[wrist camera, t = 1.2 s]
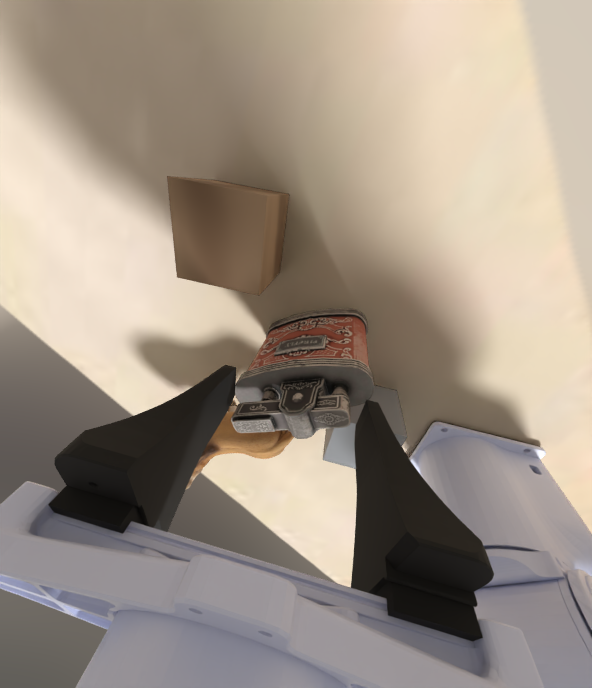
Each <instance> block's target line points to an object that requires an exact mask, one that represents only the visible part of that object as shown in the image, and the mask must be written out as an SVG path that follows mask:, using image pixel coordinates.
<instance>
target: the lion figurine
mask: <svg viewBox="0 0 592 688" xmlns="http://www.w3.org/2000/svg"><path fill="white" fill-rule="evenodd" d="M236 408H237V406H230V407H229V409H228V412H227V413H226V415H225V416H224V418H223V420H222V421H221V423H220V425H219V426H218V428H217V430H216V431H215V433H214V434H213V436H212V438H211V439H210V441H209V443H208V444H207V446H206V448H205V450H204V451H203V453H202V455H201V457H200V459H199V461H198V464H197V466H196V468H195V470H194V472H193V474H192V476H191V478H190V481H189V483H188V485H187V487H186V489H188V488H189V487H190V486H191V483H192V481H193V480H194V479H195V477H196V476H197V475H198V474H199V473H200V472H201V471H202V469H203V467H204V466H205V465H206V464H207V463H208V462H209V461H210V459H211V458H213V457H214V456H216V455H220V454H227V453H243V454H246V455H249V456H252V457H255V458H260V459H267V458H271V457H274V456H277V455H279V454H280V453H281V452H282V451H283V450H284V448H285V447H286V446H287V445H288V444H289V443H290V442H291V440H292V439H293V438H294V437H293V436H292V434H291V432H290V431H288V430H276V431H275V432H253V433H239V432H237V431H236V430H235V428H234V427H233V424H232V422H231V417H232V416H233V414H234V412H235V410H236Z"/></svg>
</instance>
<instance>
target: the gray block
mask: <svg viewBox="0 0 592 688" xmlns="http://www.w3.org/2000/svg"><path fill="white" fill-rule="evenodd" d="M369 400H370V401H374V402H378V403H379V405H380V407H381V409H382V411H383V413H384V415H385V417H386V419H387V421H388V423H389V425H390V427H391V429H392V431H393V433H394V434H395V436H396V438H397V440H398V442H399V443H400V445H401V446H402V445H403V443H404V441H405V440H406V438H407V433H406V429H405V424H404V420H403V416H402V411H401V407H400V402H399V398H398V394H397V391H396V390H392V389H388V388H384V387H380V386H375V385H374V393H373V395H372V397H371V398H370V399H369ZM364 404H365V403H364ZM364 404H361V405H358V406H353V407H350V425H349V426H347V427H343V428H326V435H325V444H324V454H323V460H325V461H328V462H332V463H336V464H340V465H343V466H347V467H351V468H354V469H356V464H355V445H354V442H355V427H356V423H357V421H358V419H359V416H360V414H361V412H362V409H363V407H364Z"/></svg>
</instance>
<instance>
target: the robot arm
mask: <svg viewBox="0 0 592 688" xmlns="http://www.w3.org/2000/svg"><path fill="white" fill-rule="evenodd" d="M235 383H236V367H232V366H228V365H225V366H223V367H221V368H220V369H219V370H217V371H216V372H214V373H213V374H212V375H210V376H209V377H207V378H206V379H204V380H203V381H201V382H200V383H198V384H197V385H195V386H194V387H192V388H190V389H189V390H187V391H185V392H184V393H182V394H180V395H179V396H177V397H175V398H173V399H171V400H169V401H167V402H165V403H163V404H161V405H159V406H157V407H154V408H152V409H150V410H147V411H145V412H142V413H140V414H137V415H135V416H132V417H130V418H127V419H124V420H121V421H117V422H114V423H111V424H108V425H104V426H100V427H97V428H93V429H89V430H85V431H84V432H83V433H82V434H80V435H79V436H78V437H77V438H76V439H75V440H74V441H73V442H71V443H70V444H69V445H68V446H67V447H66V448H65V449H64V450H63V451H62V452H61V453H59V454H58V455H57V456H56V458H55V466H56V469H57V470H58V472H59V474H60V475H61V477H62V478H63V480H64V482H65V483H66V485H67V486H66V487H65V488H64V489H63V490H62V491H61V492H60V493H59V492H58V491H56V490H55V489H52V488H50V487H47V486H43V485H40V484H37V483H33V482H30V481H28V482H25V483H24V484H23V485H22V486H20V487H19V488H18V489H17V490H16V491H15V492H14V493H13V494H11V495H10V496H9V497H8V498H7V499H6V500H5V501H4V502H3V503H2V504H0V589H3V590H6V591H9V592H12V593H14V594H17V595H20V596H23V597H25V598H28V599H31V600H33V601H36V602H38V603H41V604H44V605H46V606H49V607H51V608H54V609H56V610H59V611H62V612H64V613H67V614H69V615H72V616H74V617H77V618H79V619H82V620H85V621H87V622H89V623H92V624H95V625H97V626H100V627H102V628H105V629H107V632H106V634H105V636H104V637H103V639H102V641H101V643H100V645H99V647H98V648H97V650H96V652H95V654H94V656H93V657H92V659H91V661H90V663H89V664H88V666H87V668H86V670H85V672H84V673H83V675H82V677H81V679H80V681H79V683H78V684H77V686H76V688H592V534H591V532H590V531H589V529H588V528H587V526H586V525H585V523H584V522H583V520H582V519H581V517H580V516H579V515H578V513H577V512H576V510H575V509H574V507H573V506H572V504H571V503H570V502H569V500H568V499H567V497H566V496H565V494H564V493H563V492H562V490H561V489H560V487H559V486H558V484H557V483H556V482H555V480H554V479H553V477H552V476H551V474H550V473H549V472H548V470H547V469H546V467H545V466H544V464H543V463H542V462H541V460H540V459H541V458H542V457H543V456H544V455H545V454H546V452H545V450H544V449H543V448H542V447H538V446H534V445H530V444H526V443H522V442H518V441H514V440H510V439H506V438H502V437H498V436H494V435H490V434H486V433H482V432H478V431H474V430H470V429H466V428H462V427H458V426H454V425H450V424H446V423H442V422H434V423H433V424H432V425H431V426H430V428H429V429H428V431H427V432H426V434H425V435H424V437H423V438H422V440H421V441H420V443H419V444H418V446H417V447H416V449H415V450H414V452H413V453H412V455H411V456H410V458H408V456H407V455H406V453H405V452H404V450H403V448H402V447H401V445H400V443H399V442H398V440H397V438H396V436H395V434H394V433H393V431H392V429H391V427H390V425H389V423H388V421H387V419H386V417H385V415H384V413H383V411H382V409H381V407H380V405H379V403H378V402H374V401H370V400H366V402H365V404H364V407H363V409H362V412H361V414H360V416H359V419H358V421H357V423H356V427H355V442H354V445H355V464H356V481H357V507H356V528H355V544H354V558H353V570H352V581H351V588H350V587H347V586H343V585H340V584H337V583H334V582H330V581H327V580H324V579H320V578H317V577H313V576H310V575H307V574H304V573H301V572H297V571H294V570H291V569H287V568H284V567H281V566H277V565H274V564H270V563H268V562H264V561H261V560H258V559H254V558H251V557H248V556H244V555H241V554H237V553H234V552H231V551H228V550H225V549H221V548H218V547H215V546H211V545H208V544H205V543H202V542H198V541H195V540H191V539H188V538H185V537H182V536H178V535H175V534H172V533H168V532H167V531H168V529H169V526H170V524H171V522H172V519H173V517H174V515H175V512H176V510H177V507H178V505H179V503H180V501H181V498H182V496H183V494H184V492H185V489H186V487H187V485H188V483H189V481H190V478H191V476H192V474H193V472H194V470H195V468H196V466H197V464H198V461H199V459H200V457H201V455H202V453H203V451H204V450H205V448H206V446H207V444H208V443H209V441H210V439H211V438H212V436H213V434H214V433H215V431H216V430H217V428H218V426H219V425H220V423H221V421H222V420H223V418H224V416H225V415H226V413H227V411H228V409H229V407H230V405H231V403H232V401H233V398H234V396H235ZM442 428H444V429H442Z"/></svg>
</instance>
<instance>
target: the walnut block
mask: <svg viewBox="0 0 592 688" xmlns="http://www.w3.org/2000/svg"><path fill="white" fill-rule="evenodd" d="M167 180H168V190H169V200H170V210H171V221H172V231H173V241H174V251H175V261H176V272H177V277H178V278H182V279H187V280H191V281H196V282H200V283H205V284H209V285H214V286H218V287H223V288H227V289H231V290H236V291H240V292H245V293H249V294H254V295H258V296H259V295H260V294H261V293H262V292H263V291H264V289H265V288H266V287H267V286H268V285H269V284H270V283H271V282H272V281H273V279H274V278H275V277H276V276H277V275H278V274H279V273H280V266H281V258H282V250H283V242H284V234H285V225H286V217H287V209H288V201H289V194H285V193H280V192H274V191H269V190H264V189H259V188H253V187H248V186H243V185H237V184H232V183H227V182H222V181H216V180H207V179H195V178H182V177H170V176H167Z"/></svg>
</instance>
